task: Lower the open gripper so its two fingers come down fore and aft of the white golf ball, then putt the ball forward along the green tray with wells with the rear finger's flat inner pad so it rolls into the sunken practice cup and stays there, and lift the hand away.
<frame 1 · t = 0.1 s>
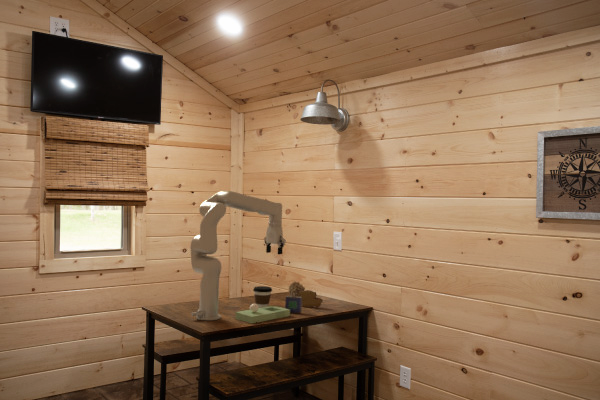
hand: (274, 253, 293), 31 cm above the table, tool pointing down, fingers open, 9 cm apart
blue box: (293, 313, 280), on the table
wooden carving: (308, 307, 296), on the table
green tray with wells: (263, 317, 266), on the table
coffee cup: (262, 309, 287), on the table
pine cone: (299, 298, 322), on the table
ball: (254, 308, 262), point 6 cm above the table, touching green tray with wells
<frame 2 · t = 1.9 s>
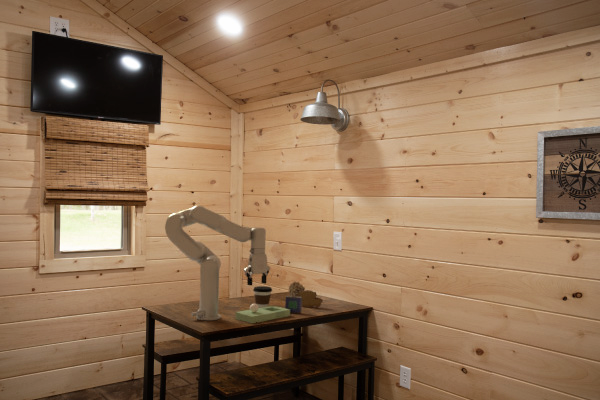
hand: (256, 284, 263), 18 cm above the table, tool pointing down, fingers open, 9 cm apart
nothing on the table moved.
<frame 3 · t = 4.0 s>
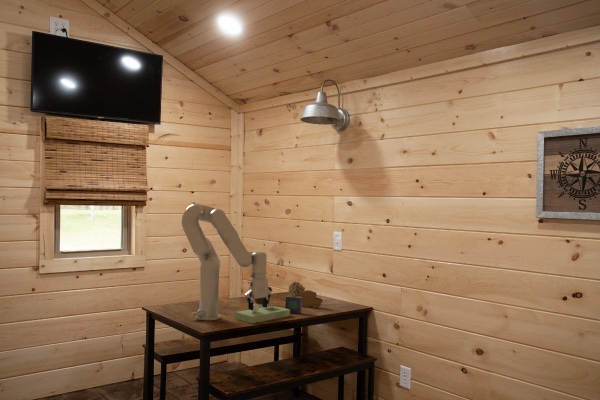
hand: (257, 308, 263), 5 cm above the table, tool pointing down, fingers open, 9 cm apart
ball: (254, 307, 262), point 6 cm above the table, tilted 9°, touching green tray with wells
everything else where it was.
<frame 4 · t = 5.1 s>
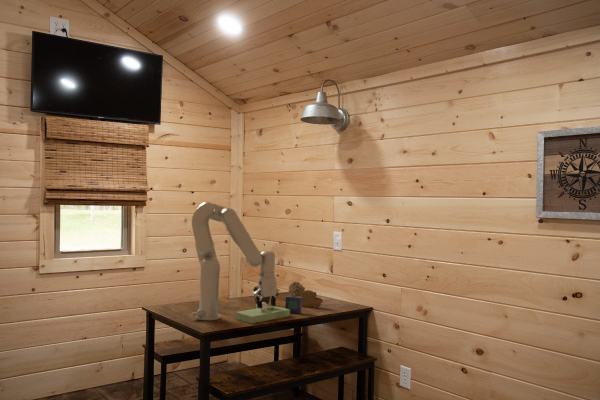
hand: (266, 306, 268), 5 cm above the table, tool pointing down, fingers open, 9 cm apart
ball: (263, 306, 266), point 6 cm above the table, tilted 158°, touching green tray with wells
everything else where it was.
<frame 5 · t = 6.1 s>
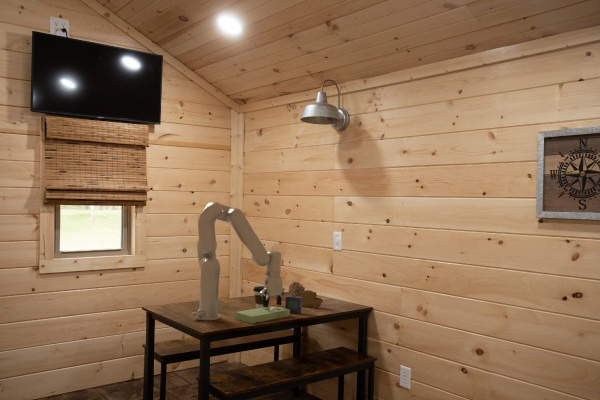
hand: (272, 305, 271), 5 cm above the table, tool pointing down, fingers open, 9 cm apart
ball: (273, 311, 272), point 2 cm above the table, tilted 15°
everything else where it was.
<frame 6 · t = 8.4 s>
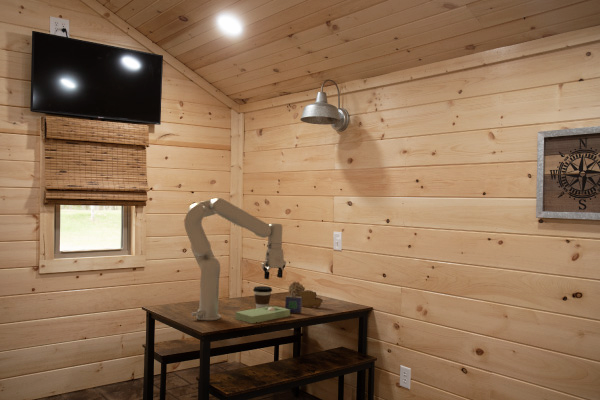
hand: (273, 278, 271), 20 cm above the table, tool pointing down, fingers open, 9 cm apart
ball: (271, 311, 270), point 2 cm above the table, tilted 30°
everything else where it was.
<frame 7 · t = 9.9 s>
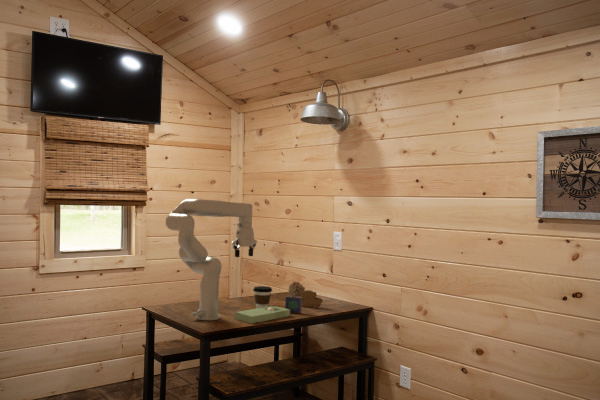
hand: (244, 256, 279), 30 cm above the table, tool pointing down, fingers open, 9 cm apart
ball: (270, 311, 270), point 2 cm above the table, tilted 38°
everything else where it was.
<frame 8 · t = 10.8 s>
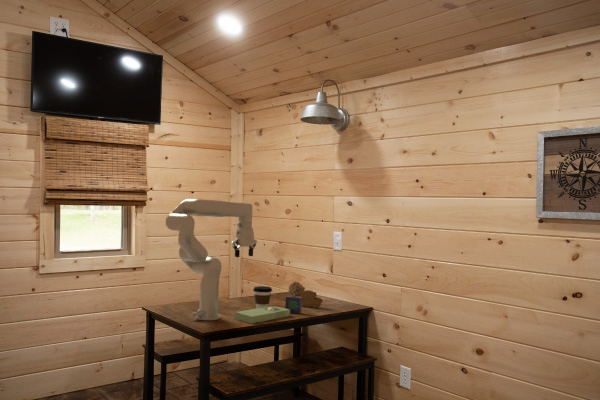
hand: (243, 256, 279), 30 cm above the table, tool pointing down, fingers open, 9 cm apart
nothing on the table moved.
at the end: ball 1.0 cm from the target spot on the green tray with wells, point 2.3 cm above the green tray with wells's base; ball moved 12.5 cm from its start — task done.
